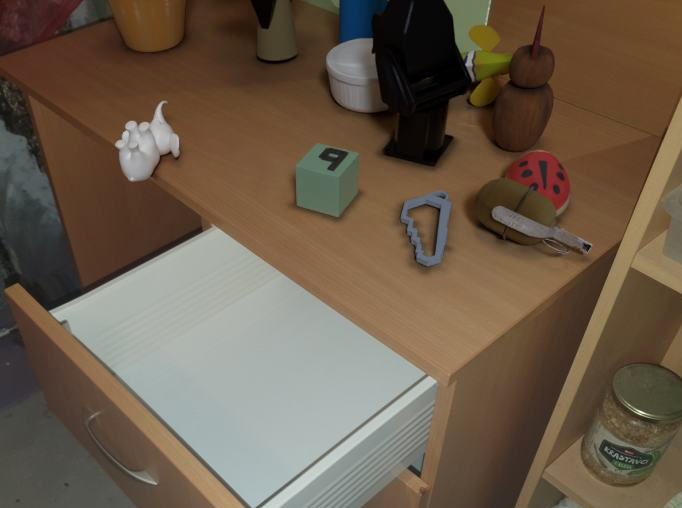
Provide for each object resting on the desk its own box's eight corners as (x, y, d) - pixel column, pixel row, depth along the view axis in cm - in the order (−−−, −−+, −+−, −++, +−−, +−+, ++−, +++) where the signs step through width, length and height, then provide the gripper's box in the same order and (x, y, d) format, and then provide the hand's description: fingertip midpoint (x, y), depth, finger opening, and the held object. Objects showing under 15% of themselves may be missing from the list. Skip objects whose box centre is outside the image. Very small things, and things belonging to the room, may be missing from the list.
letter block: (338, 217, 76) (338, 175, 72) (296, 206, 78) (294, 163, 74) (358, 193, 79) (359, 151, 75) (317, 182, 81) (316, 140, 77)
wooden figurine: (506, 124, 88) (531, -4, 77) (551, 138, 85) (583, 7, 75) (479, 148, 84) (501, 17, 74) (524, 164, 82) (555, 30, 71)
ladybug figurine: (560, 168, 80) (569, 141, 77) (574, 228, 74) (585, 200, 71) (498, 165, 80) (506, 138, 78) (507, 224, 74) (515, 196, 71)
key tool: (393, 268, 71) (445, 269, 69) (392, 261, 70) (445, 261, 69) (405, 198, 79) (452, 197, 77) (405, 191, 78) (452, 190, 77)
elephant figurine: (131, 81, 84) (149, 124, 90) (88, 154, 79) (109, 195, 84) (188, 85, 82) (203, 128, 87) (148, 160, 77) (166, 202, 82)
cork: (305, 54, 101) (301, -31, 93) (264, 64, 99) (257, -22, 92) (289, 39, 105) (284, -43, 97) (250, 48, 104) (242, -35, 96)
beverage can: (384, 48, 104) (390, -42, 95) (384, 69, 99) (390, -24, 91) (339, 48, 105) (340, -42, 96) (337, 68, 100) (338, -24, 91)
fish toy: (515, 102, 85) (536, 100, 94) (514, 14, 82) (536, 21, 91) (395, 114, 92) (425, 112, 102) (391, 34, 90) (423, 39, 99)
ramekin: (343, 124, 89) (344, 84, 85) (313, 85, 97) (313, 46, 93) (426, 108, 91) (431, 67, 87) (391, 70, 99) (393, 31, 95)
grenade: (472, 213, 76) (578, 268, 73) (456, 225, 71) (569, 283, 68) (498, 162, 73) (610, 216, 70) (483, 170, 68) (603, 228, 65)
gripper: (249, -132, 97) (257, -10, 108) (169, -93, 86) (187, 39, 97) (324, -125, 93) (324, 1, 104) (250, -83, 82) (259, 53, 93)
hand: (274, 22), depth 99 cm, fingers closed on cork, 4 cm apart
